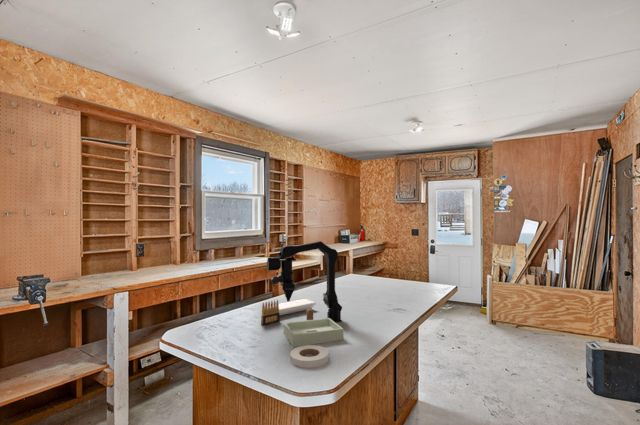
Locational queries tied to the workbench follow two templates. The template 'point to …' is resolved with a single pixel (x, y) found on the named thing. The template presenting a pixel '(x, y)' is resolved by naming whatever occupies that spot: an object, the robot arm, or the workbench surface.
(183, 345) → the workbench surface
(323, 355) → the roll of tape
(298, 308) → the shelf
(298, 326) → the box
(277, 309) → the ammunition clip
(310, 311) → the peg
